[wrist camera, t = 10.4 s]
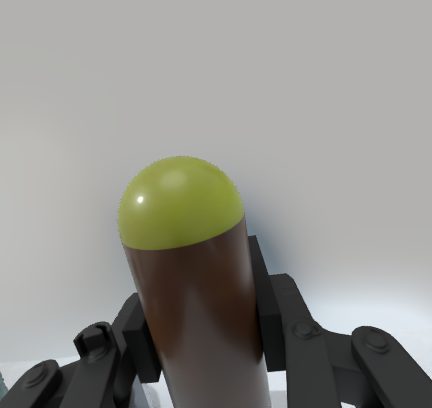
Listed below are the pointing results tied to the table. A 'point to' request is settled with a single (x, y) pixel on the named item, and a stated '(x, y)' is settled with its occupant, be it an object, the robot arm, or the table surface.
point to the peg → (196, 282)
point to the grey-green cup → (2, 388)
